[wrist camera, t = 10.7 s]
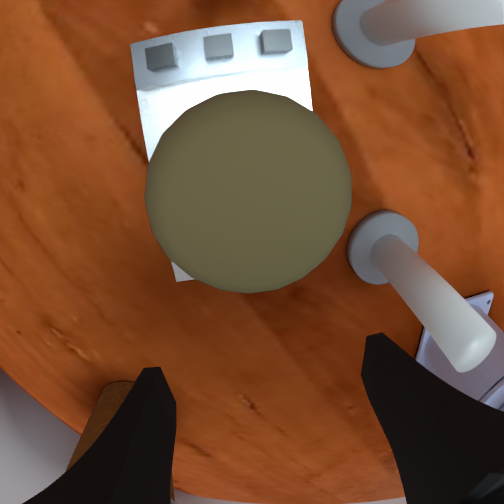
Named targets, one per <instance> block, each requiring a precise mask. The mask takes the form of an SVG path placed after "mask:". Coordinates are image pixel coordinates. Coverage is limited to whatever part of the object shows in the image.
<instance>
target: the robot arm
mask: <svg viewBox="0 0 504 504" xmlns="http://www.w3.org/2000/svg"><path fill="white" fill-rule="evenodd" d="M492 299H493V293H492V292H491V291H489V292H486V293H483V294H479V295H476V296H473V297H470V298H467V299H465V300H466V301H467V302H468V303H469V304H470V306H471V307H472V308H473V309H474V310H475V311H476V312H477V313H478V314H479V315H480V316H481V317H482V318H483V319H484V320H485V321H486V322H487V323H488V325H489V326H490V327H491V328H492V329H493V330H494V331H495V332H496V341H495V344H494V346H493V348H492V350H491V352H490V353H489V354H488V356H487V357H486V358H485V359H484V360H483V361H482V362H481V363H480V364H479V365H477V366H476V367H474V368H473V369H471V370H469V371H467V372H457V371H456V369H455V368H454V367H453V365H452V364H451V362H450V361H449V360H448V358H447V357H446V355H445V354H444V353H443V351H442V350H441V349H440V347H439V346H438V344H437V343H436V342H435V340H434V339H433V338H432V336H431V335H430V334H429V332H428V331H427V330H426V328H425V327H424V329H423V334H422V337H421V341H420V345H419V349H418V353H417V356H416V360H415V359H414V358H412V357H411V356H410V355H409V354H408V353H406V352H405V351H404V350H403V349H402V348H400V347H399V346H398V345H397V344H396V343H394V342H393V341H392V340H391V339H390V338H388V337H387V336H386V335H385V334H383V333H378V334H374V335H370V336H367V337H366V345H365V352H364V359H363V365H362V372H361V376H362V380H363V383H364V386H365V389H366V392H367V395H368V398H369V400H370V403H371V405H372V407H373V409H374V411H375V413H376V416H377V418H378V420H379V422H380V424H381V426H382V428H383V431H384V433H385V435H386V437H387V439H388V441H389V444H390V446H391V449H392V451H393V454H394V457H395V460H396V463H397V467H398V470H399V473H400V477H401V481H402V485H403V488H404V492H405V497H406V502H407V504H504V332H503V331H502V330H501V329H500V328H499V327H498V326H497V325H496V324H495V322H494V321H493V320H492V319H491V318H490V317H489V316H488V312H489V309H490V306H491V302H492ZM175 435H176V401H175V399H174V397H173V395H172V392H171V390H170V388H169V386H168V384H167V381H166V379H165V377H164V374H163V372H162V370H161V367H151V368H144V369H143V370H142V371H141V373H140V375H139V376H138V378H137V380H136V381H135V383H134V385H133V386H132V388H131V389H130V391H129V393H128V394H127V396H126V398H125V399H124V401H123V402H122V404H121V405H120V407H119V408H118V410H117V411H116V413H115V414H114V416H113V417H112V419H111V420H110V422H109V423H108V424H107V426H106V427H105V428H104V430H103V431H102V433H101V434H100V435H99V437H98V438H97V439H96V440H95V442H94V443H93V444H92V445H91V446H90V448H89V449H88V450H87V451H86V452H85V453H84V454H83V455H82V456H81V457H80V458H79V460H78V461H77V462H76V463H75V464H74V465H73V466H72V467H70V468H69V469H68V470H67V471H66V472H65V473H64V474H63V475H62V476H61V477H59V479H57V480H56V481H55V482H54V483H52V484H51V485H50V486H49V487H47V488H46V489H44V490H43V491H41V492H40V493H38V494H37V495H35V496H34V497H32V498H31V499H29V500H28V501H26V502H24V503H23V504H171V500H170V482H171V471H172V462H173V453H174V444H175Z"/></svg>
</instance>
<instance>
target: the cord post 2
mask: <svg viewBox="0 0 504 504" xmlns="http://www.w3.org/2000/svg"><path fill="white" fill-rule="evenodd" d="M417 250H418V234H417V231H416V229H415V227H414V225H413V224H412V223H411V222H410V221H409V220H408V219H407V218H405V217H404V216H402V215H401V214H400V213H398V212H396V211H393V210H378V211H375V212H373V213H370V214H369V215H367V216H365V217H364V218H363V219H362V220H361V221H360V222H359V223H358V224H357V225H356V226H355V227H354V229H353V231H352V232H351V235H350V237H349V240H348V244H347V257H348V260H349V263H350V265H351V266H352V268H353V269H354V271H355V272H356V273H357V275H358V276H359V277H360V278H361V279H362V280H364V281H365V282H368V283H371V284H385V283H390V284H391V285H392V286H393V287H394V289H395V290H396V291H397V292H398V294H399V295H400V296H401V297H402V299H403V300H404V301H405V302H406V304H407V305H408V306H409V308H410V309H411V310H412V311H413V313H414V314H415V315H416V317H417V318H418V319H419V320H420V322H421V323H422V324H423V326H424V327H425V328H426V330H427V331H428V332H429V334H430V335H431V336H432V338H433V339H434V340H435V342H436V343H437V344H438V346H439V347H440V349H441V350H442V351H443V353H444V354H445V355H446V357H447V358H448V360H449V361H450V362H451V364H452V365H453V367H454V368H455V369H456V371H457V372H467V371H469V370H471V369H473V368H474V367H476V366H477V365H479V364H480V363H481V362H482V361H483V360H484V359H485V358H486V357H487V356H488V354H489V353H490V352H491V350H492V348H493V346H494V344H495V341H496V332H495V331H494V330H493V329H492V328H491V327H490V326H489V325H488V323H487V322H486V321H485V320H484V319H483V318H482V317H481V316H480V315H479V314H478V313H477V312H476V311H475V310H474V309H473V308H472V307H471V306H470V304H469V303H468V302H467V301H466V300H465V299H464V298H463V297H462V296H461V295H460V294H459V293H458V292H457V291H456V290H455V289H454V288H453V287H452V286H451V285H450V284H449V283H448V282H447V281H445V280H444V279H443V278H442V277H441V276H440V275H439V274H438V273H437V272H436V271H435V270H434V269H433V268H432V267H431V266H430V265H429V264H428V263H427V262H425V261H424V260H423V259H422V258H421V257H420V256H419V255H418V254H417Z"/></svg>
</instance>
